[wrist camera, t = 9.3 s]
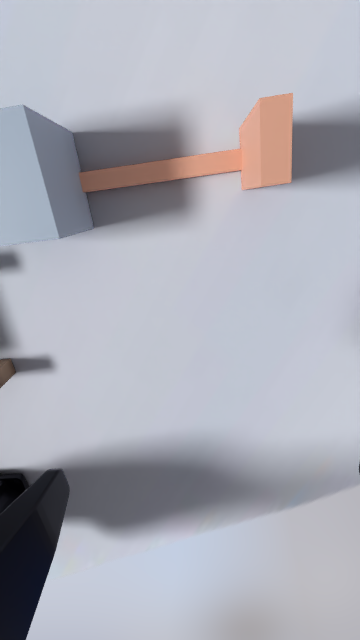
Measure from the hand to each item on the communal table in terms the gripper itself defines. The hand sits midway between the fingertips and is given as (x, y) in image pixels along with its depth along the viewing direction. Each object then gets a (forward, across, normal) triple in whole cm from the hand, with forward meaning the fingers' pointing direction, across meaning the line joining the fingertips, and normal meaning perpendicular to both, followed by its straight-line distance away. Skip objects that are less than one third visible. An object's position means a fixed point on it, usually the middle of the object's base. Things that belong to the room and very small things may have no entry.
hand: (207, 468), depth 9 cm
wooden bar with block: (+12, +3, -9) cm, 15 cm away
